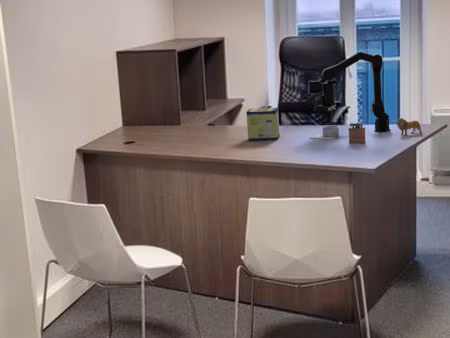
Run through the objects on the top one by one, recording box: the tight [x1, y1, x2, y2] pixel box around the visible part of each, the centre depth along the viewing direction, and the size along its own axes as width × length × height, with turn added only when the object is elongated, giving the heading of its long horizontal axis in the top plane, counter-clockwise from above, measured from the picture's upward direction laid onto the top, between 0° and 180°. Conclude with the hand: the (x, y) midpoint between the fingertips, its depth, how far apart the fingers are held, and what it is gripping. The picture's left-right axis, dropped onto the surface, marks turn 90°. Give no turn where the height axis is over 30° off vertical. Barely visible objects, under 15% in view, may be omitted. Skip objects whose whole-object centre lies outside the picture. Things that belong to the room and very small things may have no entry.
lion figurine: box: [396, 117, 423, 137], centre depth 358 cm, size 15×5×9 cm, turn 113°
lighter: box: [347, 122, 367, 145], centre depth 345 cm, size 8×3×10 cm, turn 71°
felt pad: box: [309, 133, 340, 141], centre depth 368 cm, size 12×10×1 cm
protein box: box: [246, 107, 281, 142], centre depth 374 cm, size 10×16×16 cm
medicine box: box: [322, 124, 340, 137], centre depth 368 cm, size 8×4×9 cm
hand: (329, 122), depth 374 cm, fingers closed
